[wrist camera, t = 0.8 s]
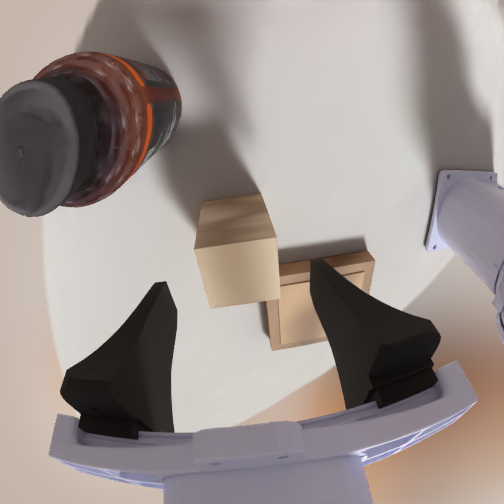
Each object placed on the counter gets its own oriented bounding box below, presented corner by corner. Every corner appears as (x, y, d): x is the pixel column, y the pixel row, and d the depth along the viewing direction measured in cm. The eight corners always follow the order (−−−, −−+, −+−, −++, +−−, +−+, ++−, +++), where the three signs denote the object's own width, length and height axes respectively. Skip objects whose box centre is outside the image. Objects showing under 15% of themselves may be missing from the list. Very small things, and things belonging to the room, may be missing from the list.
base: (367, 250, 21) (375, 261, 20) (354, 322, 26) (359, 333, 25) (261, 266, 21) (264, 279, 20) (269, 339, 26) (271, 351, 25)
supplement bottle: (102, 67, 12) (-30, 65, 3) (191, 68, 13) (132, 23, 4) (93, 153, 15) (-21, 237, 6) (176, 159, 16) (114, 259, 7)
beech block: (261, 193, 18) (276, 237, 13) (266, 243, 20) (280, 298, 15) (202, 201, 18) (194, 249, 13) (212, 251, 20) (210, 308, 15)
